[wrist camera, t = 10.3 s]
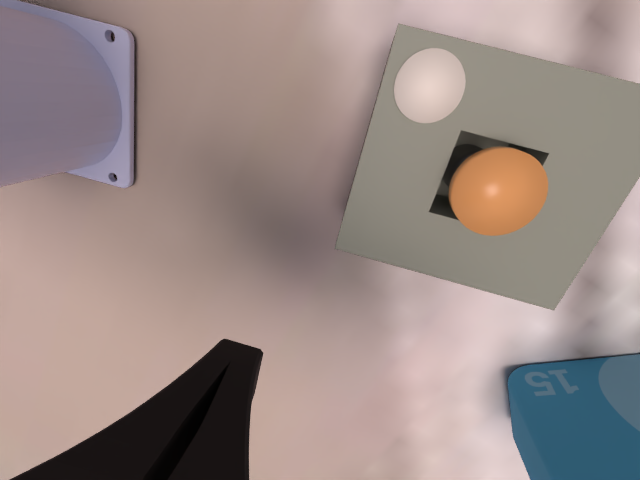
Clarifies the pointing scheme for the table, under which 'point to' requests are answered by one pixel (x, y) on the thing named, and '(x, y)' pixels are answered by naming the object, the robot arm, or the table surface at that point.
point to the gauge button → (495, 188)
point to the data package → (578, 418)
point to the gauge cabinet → (485, 132)
